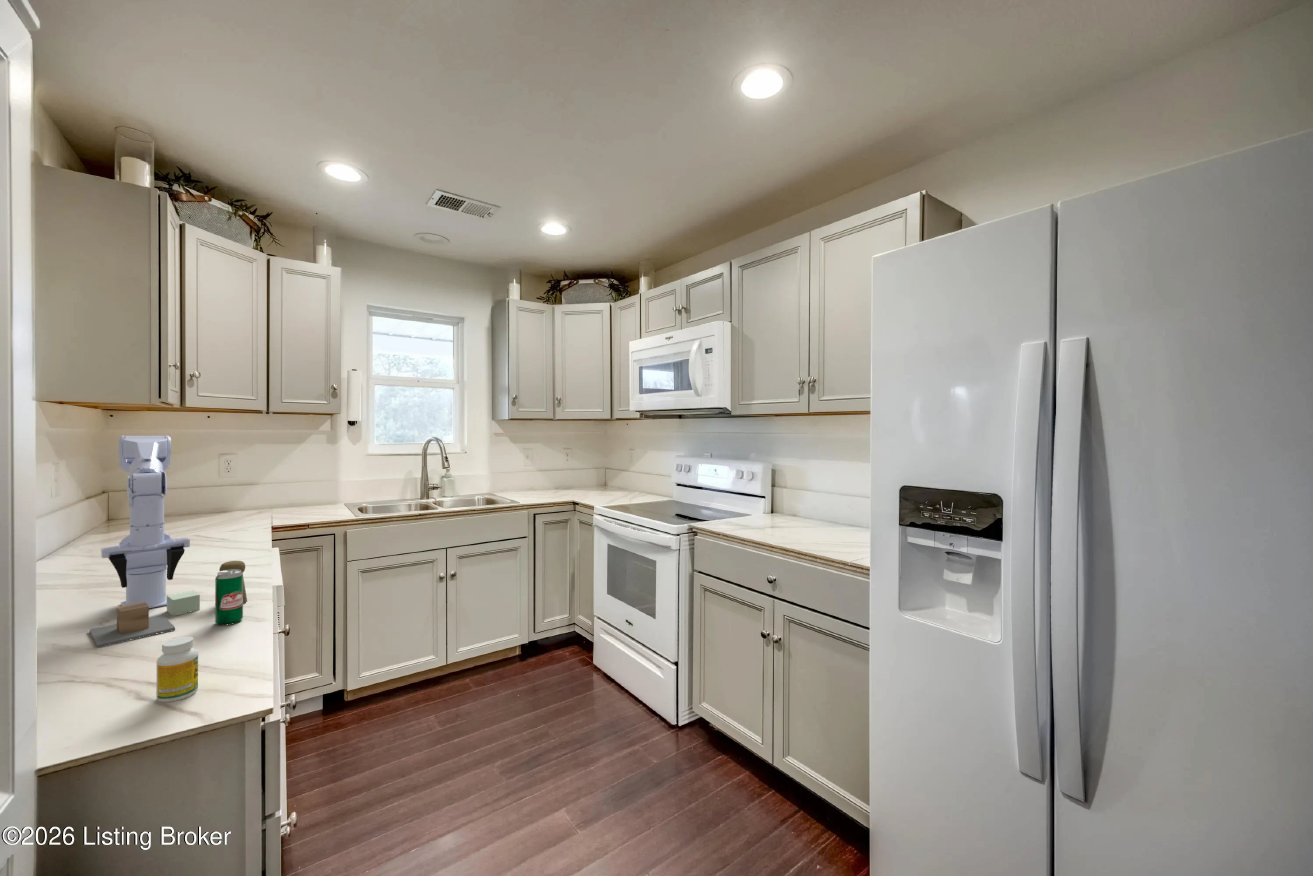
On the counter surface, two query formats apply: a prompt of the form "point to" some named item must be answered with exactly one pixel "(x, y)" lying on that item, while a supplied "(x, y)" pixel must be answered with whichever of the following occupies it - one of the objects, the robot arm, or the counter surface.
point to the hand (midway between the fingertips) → (147, 582)
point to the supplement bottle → (177, 670)
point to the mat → (112, 635)
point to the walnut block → (132, 617)
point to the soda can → (228, 597)
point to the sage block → (183, 602)
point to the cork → (235, 565)
